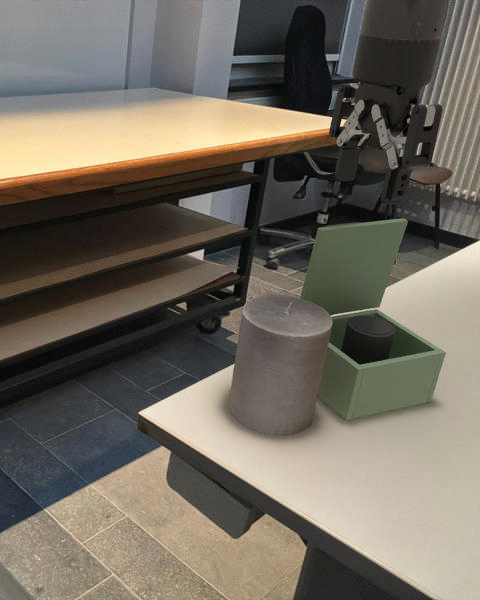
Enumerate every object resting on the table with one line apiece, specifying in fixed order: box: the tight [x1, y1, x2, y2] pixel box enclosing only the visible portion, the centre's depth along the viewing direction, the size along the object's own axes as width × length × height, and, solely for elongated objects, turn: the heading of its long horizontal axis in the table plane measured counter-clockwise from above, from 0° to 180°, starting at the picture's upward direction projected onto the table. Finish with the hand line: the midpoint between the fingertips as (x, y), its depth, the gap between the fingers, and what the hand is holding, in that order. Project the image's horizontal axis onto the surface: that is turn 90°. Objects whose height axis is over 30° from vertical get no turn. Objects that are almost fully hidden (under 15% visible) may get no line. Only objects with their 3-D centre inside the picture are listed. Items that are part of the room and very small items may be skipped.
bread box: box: [317, 308, 447, 422], centre depth 84 cm, size 12×13×8 cm
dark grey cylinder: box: [341, 316, 395, 365], centre depth 83 cm, size 5×5×8 cm
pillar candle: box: [227, 294, 333, 436], centre depth 77 cm, size 10×10×15 cm
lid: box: [299, 217, 409, 316], centre depth 85 cm, size 12×13×4 cm
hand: (366, 191), depth 74 cm, fingers open, 8 cm apart
